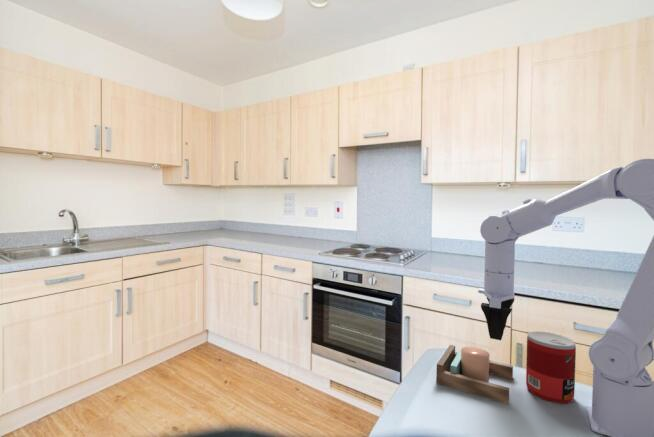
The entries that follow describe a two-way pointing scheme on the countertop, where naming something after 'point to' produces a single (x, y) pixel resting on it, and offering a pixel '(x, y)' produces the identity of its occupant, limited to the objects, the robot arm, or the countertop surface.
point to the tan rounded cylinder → (475, 363)
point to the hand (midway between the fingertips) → (497, 333)
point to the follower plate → (456, 364)
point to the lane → (470, 383)
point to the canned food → (551, 366)
